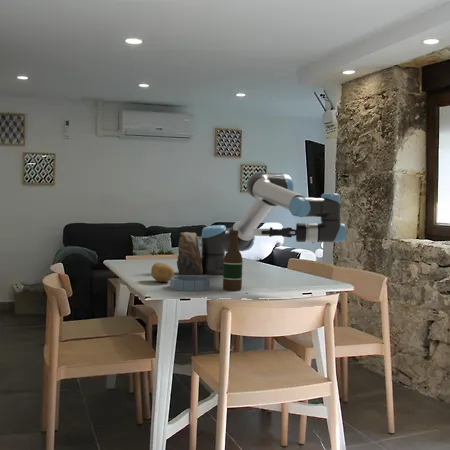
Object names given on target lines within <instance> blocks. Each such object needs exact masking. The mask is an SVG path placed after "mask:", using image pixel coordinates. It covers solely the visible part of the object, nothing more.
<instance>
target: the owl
mask: <svg viewBox="0 0 450 450" xmlns="http://www.w3.org/2000/svg"><path fill="white" fill-rule="evenodd" d="M179 234H180V236H179V238H178V243H177V244H178V247H177V249H178V256H177V260H176V266H177V270H178V276H185V275H188V276H204V275H203V274H204V273H202V272H203V269H202V262H201V252H200V247H199V240H198V234H197V233H196V232H190V231H184V232H180V233H179Z"/></svg>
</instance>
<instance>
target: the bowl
mask: <svg viewBox="0 0 450 450" xmlns="http://www.w3.org/2000/svg"><path fill="white" fill-rule="evenodd" d="M169 285H170V286H169V288H170V289H171V290H174V291H175V290H176V291H181V292H204V291H209V290H211V277H208V276H204V275H174V276H173V277H171V278H170V281H169Z"/></svg>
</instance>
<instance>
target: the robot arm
mask: <svg viewBox="0 0 450 450" xmlns="http://www.w3.org/2000/svg"><path fill="white" fill-rule="evenodd" d="M246 190H247V193H248V194H249V195H250V196H251V197H253V198H254V199H255V200H254V201H253V202H252V204H251V206H250V207H249V208H248V209H247V211H246V212H245V213H244V215H243V216H242V217H241V219H240V221H239V220H238V221H236V222H235V223H234V224H233V225H232V226H231V227H226V225H224V224H217V225H214V224H213V225H209V226H205V227H203V229H202V230H201V231H202V232H201V252H200V255H201V262H202V269H203V272H202V274H205V275H207V274H208V275H223V269H224V257H225V255H226V252H227V251H228V249H229V242H230V231H231V230H238V232H239V233H238V248H239V251H240V252H245V251H249V250H250V249H251V248H252V247H253V246H254V244H255V239H256V237H258V236H259V237H269V238H270V237H271V238H272V237H274V236H276V237H283V238H284V237H286V238H292V237H295V241H296V242H297V243H305V242H308V243H311V244H315V243H343V242H344V241H345V240H346V238H347V236H346V235H347V232H346V231H347V227H346V224H345V223H342V222H341V205H342V204H341V195H340V194H339V193H335V192H334V193H329V192H328V193H322V194H321V195H320V197H309V196H305V195H302V194H301V193H299V192H295V191H294V182H293V179H292V177H291V176H290V175H289V174H285V173H282V172H280V173H277V172H276V173H275V172H263V171H262V172H261V171H260V172H256V173H254V174H252V175H251V176H249V178H248V180H247V182H246ZM277 206H279V207H281V208H283V209H285V210H288V211H289V212H290V213H291V215H292V216H293V217H299V218H306V217H307V218H320V222H321V223H319V222H318V223H317V222H307V223H303V222H301V223H299V222H297V223H296V225H295V229H294V228H293V227H282V228H280V229H279V228H273V227H271V226H270V227H269V228H258V227H259V226H260V224H261V223H262V222H263V220H265V218H266V217H267V215H268V214H269V212H270V211H271V210H272V208H273V207H277ZM255 236H256V237H255Z"/></svg>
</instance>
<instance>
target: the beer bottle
mask: <svg viewBox="0 0 450 450" xmlns="http://www.w3.org/2000/svg"><path fill="white" fill-rule="evenodd" d="M238 233H239V232H238V230H231V231H230V242H229V249H228V251H226V252H225V257H224V269H223V274H222V275H223V277H222V289H223V290H224V291H228V292H229V291H230V292H231V291H232V292H237V291H239V292H240V291H241V290H242V289H243V288H242V285H243V263H244V261H243V256H242V253H241V251H239V248H238Z"/></svg>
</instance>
